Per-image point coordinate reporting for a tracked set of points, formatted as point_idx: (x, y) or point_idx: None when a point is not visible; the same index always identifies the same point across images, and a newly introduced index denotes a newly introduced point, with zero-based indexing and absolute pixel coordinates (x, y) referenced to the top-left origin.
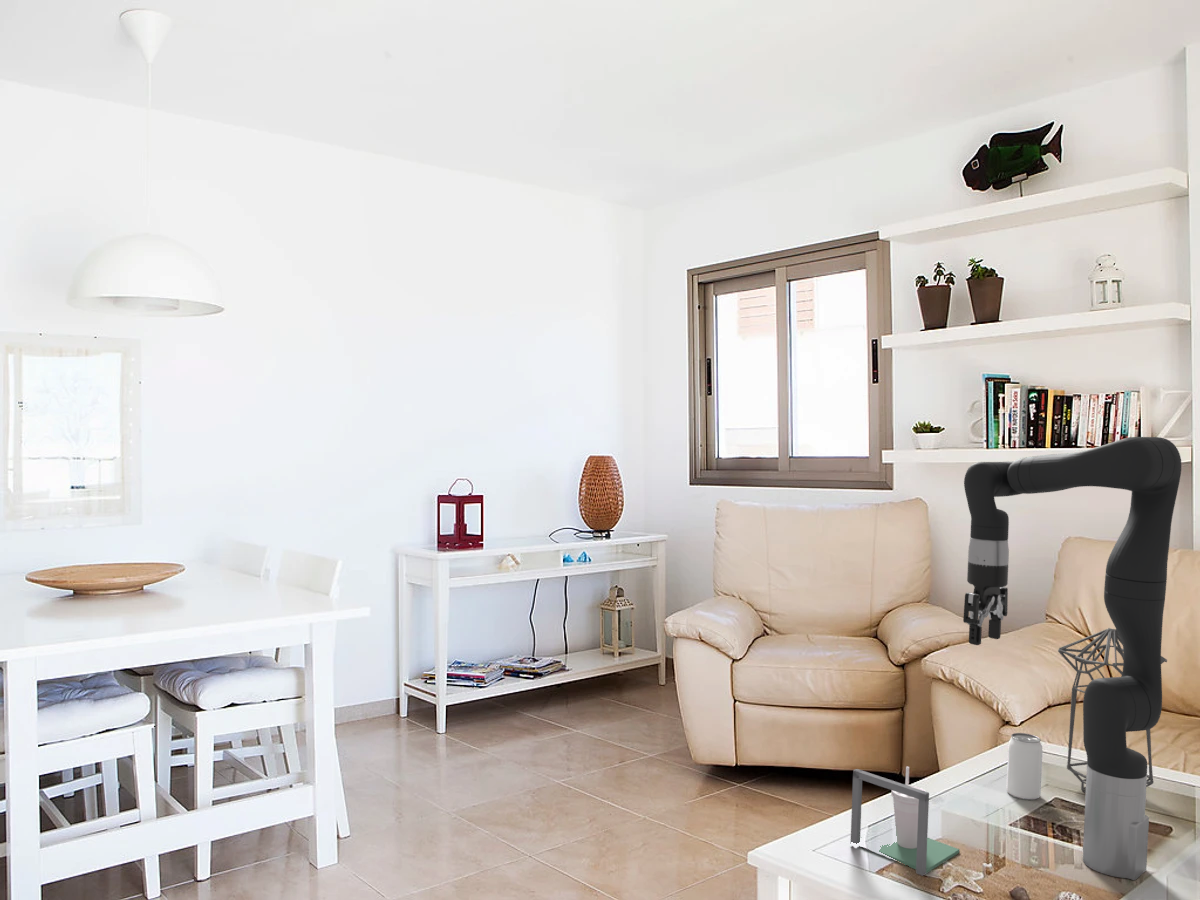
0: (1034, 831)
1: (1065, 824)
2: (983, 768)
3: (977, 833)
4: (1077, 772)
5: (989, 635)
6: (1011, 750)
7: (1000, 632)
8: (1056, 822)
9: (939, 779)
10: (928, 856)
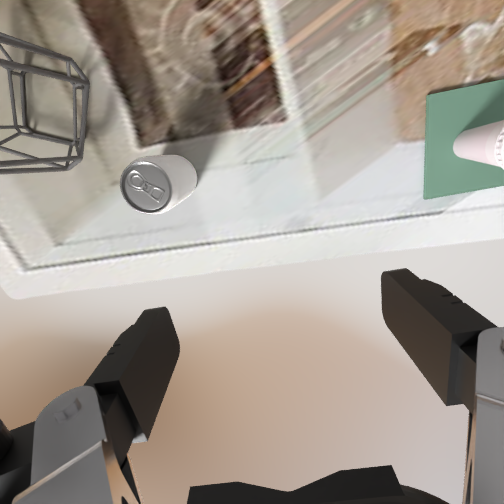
0: (274, 84)
1: (212, 75)
2: (151, 260)
3: (349, 124)
4: (82, 136)
5: (177, 351)
6: (181, 194)
7: (134, 326)
8: (218, 87)
9: (237, 263)
10: (483, 102)
